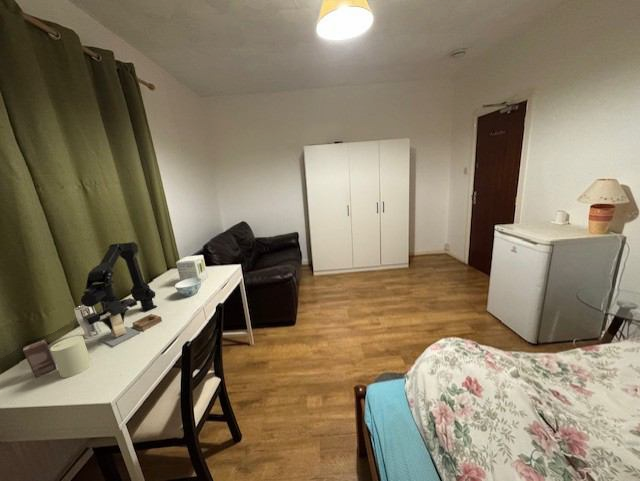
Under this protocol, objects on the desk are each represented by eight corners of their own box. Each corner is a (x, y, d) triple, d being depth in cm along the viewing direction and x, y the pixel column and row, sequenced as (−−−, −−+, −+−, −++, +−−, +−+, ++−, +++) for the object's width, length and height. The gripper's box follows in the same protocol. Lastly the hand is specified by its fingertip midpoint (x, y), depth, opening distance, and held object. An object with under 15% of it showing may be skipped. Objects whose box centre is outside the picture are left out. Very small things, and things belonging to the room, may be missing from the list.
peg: (112, 335, 118) (105, 315, 115) (122, 330, 121) (115, 311, 119) (116, 337, 116) (109, 317, 113) (126, 332, 119) (120, 313, 117)
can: (67, 365, 101) (57, 339, 98) (96, 357, 105) (87, 331, 102) (55, 381, 93) (43, 353, 90) (86, 371, 96) (76, 344, 94)
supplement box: (199, 284, 174) (194, 260, 170) (181, 286, 175) (175, 262, 171) (208, 277, 187) (203, 254, 183) (191, 278, 188) (185, 256, 184)
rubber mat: (99, 340, 118) (98, 338, 117) (125, 327, 127) (125, 326, 127) (113, 347, 111) (113, 345, 111) (140, 333, 120) (140, 331, 120)
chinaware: (208, 288, 166) (206, 277, 164) (193, 299, 152) (191, 287, 150) (188, 288, 169) (185, 278, 167) (172, 299, 154) (169, 287, 153)
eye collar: (133, 327, 126) (132, 322, 125) (152, 318, 133) (151, 313, 133) (143, 331, 121) (141, 326, 121) (162, 321, 129) (160, 316, 128)
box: (56, 364, 103) (45, 338, 100) (57, 369, 100) (46, 342, 97) (34, 373, 98) (22, 346, 96) (34, 378, 96) (22, 351, 93)
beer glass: (81, 341, 118) (70, 312, 115) (86, 333, 124) (76, 306, 121) (100, 335, 121) (90, 307, 118) (104, 328, 127) (95, 301, 124)
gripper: (88, 309, 102) (100, 343, 106) (138, 289, 118) (147, 319, 122) (77, 304, 108) (89, 337, 111) (126, 286, 123) (135, 315, 127)
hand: (117, 327), depth 118 cm, fingers closed on peg, 4 cm apart
